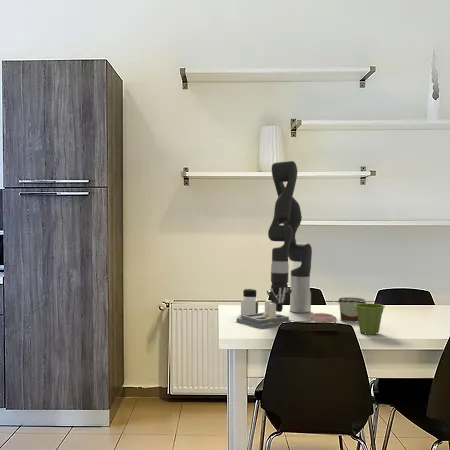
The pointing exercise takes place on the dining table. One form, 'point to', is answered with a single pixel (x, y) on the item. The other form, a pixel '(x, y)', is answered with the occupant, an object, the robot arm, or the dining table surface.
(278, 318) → the dark gray tray
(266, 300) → the tab
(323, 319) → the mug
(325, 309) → the dining table surface
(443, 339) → the dining table surface
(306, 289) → the robot arm
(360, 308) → the plant pot
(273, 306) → the tab
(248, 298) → the medicine bottle
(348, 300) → the food container
